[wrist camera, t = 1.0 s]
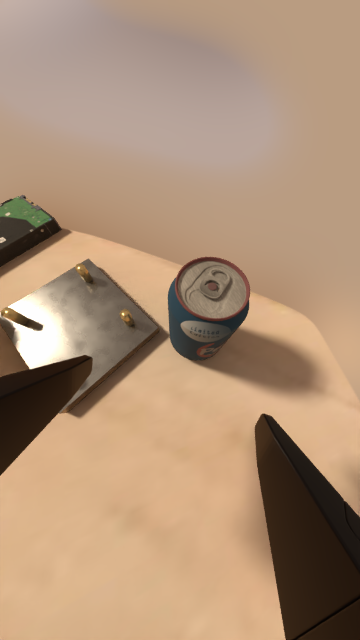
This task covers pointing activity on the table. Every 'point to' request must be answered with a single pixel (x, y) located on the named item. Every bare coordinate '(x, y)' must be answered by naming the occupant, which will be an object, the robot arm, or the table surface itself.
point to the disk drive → (23, 227)
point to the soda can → (206, 306)
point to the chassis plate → (78, 325)
